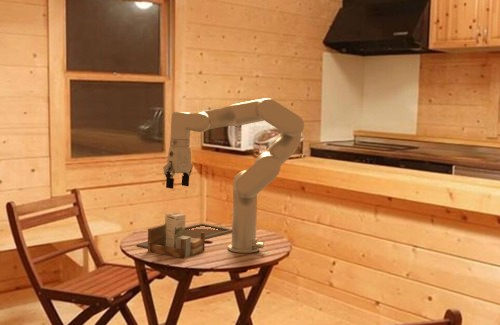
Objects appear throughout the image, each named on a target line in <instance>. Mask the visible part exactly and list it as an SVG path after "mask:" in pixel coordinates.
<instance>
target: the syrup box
mask: <svg viewBox="0 0 500 325" xmlns="http://www.w3.org/2000/svg"><path fill="white" fill-rule="evenodd" d="M164 224H165V241H164V246H167V247H173V248H176V238H177V237H180V236H185V227H186V214H184V213H181V212H171V213H166V214H164Z"/></svg>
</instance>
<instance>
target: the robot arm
mask: <svg viewBox="0 0 500 325" xmlns="http://www.w3.org/2000/svg"><path fill="white" fill-rule="evenodd" d="M170 120H171V121H170V140H169V141H170V142H169V150H168V154H167V161H166V164H165V165H164V166H163V167H162V170H163V172H164V177H165V178H166V180H165V182H166V183H165V188H166V189H170V190H171V189H172V190H173V189H174V184H175V183H174V182H175V178H174V176H175V174H182V175H181V186H184V187H189V185H190V176H191V173H192V172H193V168H194V165H193V164H192V152H191V151H192V150H191V147H190V141H191V131H193V132H197V133H203V132H206V131H207V130H211V129H217V128H222V127H223V128H224V127H239V126H245V125H249V124H254V123H260V122H266V123H268V124H269V125H271V126H272V127H274V128H276V129H278V130H279V131H280V134H279V135H278V138H277V139H276V140H275V141H274V142H273V143H272V144H271V145H270V146H269V147H268V148H266V150H264V151H263V152H262V153H261V154H259V155H258V156H257V157H256V158H255V160H254V163H253V164H252V165H250V167H249V168H248V169H247V170H245V169H244V170H241V171H240V172H238V173H236V174H235V176H234V178H233V180H232V181H233V183H232V221H231V222H232V225H231V229H232V232H231V243H230V244H228V245H227V250H229V251H230V252H234V253H238V254H239V253H240V254H249V253H250V254H252V253H257V252H258V251H259V250H261V249H264V247H265V245H264V244H265V243H264V242H260V241H259V238H257V216H258V215H257V210H258V194H259V193H260V192H261V191H263V190H264V189H265V188H266V187H267V186H269V184H271V182H273V181H274V180H275V179H276V178H277V177H278V175H279V173H280V172H281V168H282V167H281V166H283V164H284V163H286V162H287V161H288V159H290V157H292V156H293V154H294V153H295V152H296V151H297V149H298V148H299V145H300V142H301V139H302V133H303V132H304V129H305V122H304V120H303V118H302V117H301V116H300V115H298V114H297V113H295V112H293V111H292V110H290V109H288V108H287V107H285V106H284V105H282V104H281V103H279V102H277V100H274V99H273V98H268V97H267V98H260V99H259V98H258V99H254V100H250V101H245V102H239V103H234V104H230V105H227V106H224V107H219V108H214V109H210V110H204V111H199V112H195V113H194V112H193V113H192V112H188V111H187V112H185V111H174V112H173V111H172V113H171V119H170Z"/></svg>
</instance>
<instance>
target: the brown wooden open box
mask: <svg viewBox="0 0 500 325" xmlns="http://www.w3.org/2000/svg"><path fill="white" fill-rule="evenodd" d="M201 239H203V245H202V246H203V251H205V246H206V244H205V243H206V242H205V240H206V239H205V232H201ZM147 241H148V248H147V253H155V254H160V255H164V256H171V257H175V258H180V259H185V258H186V257H185V239H181V249H178V248H173V247H167V246H164V241H165V223H164V224H160V225H156V226H153V227H151V228H150V227H149V228H147Z"/></svg>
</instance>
